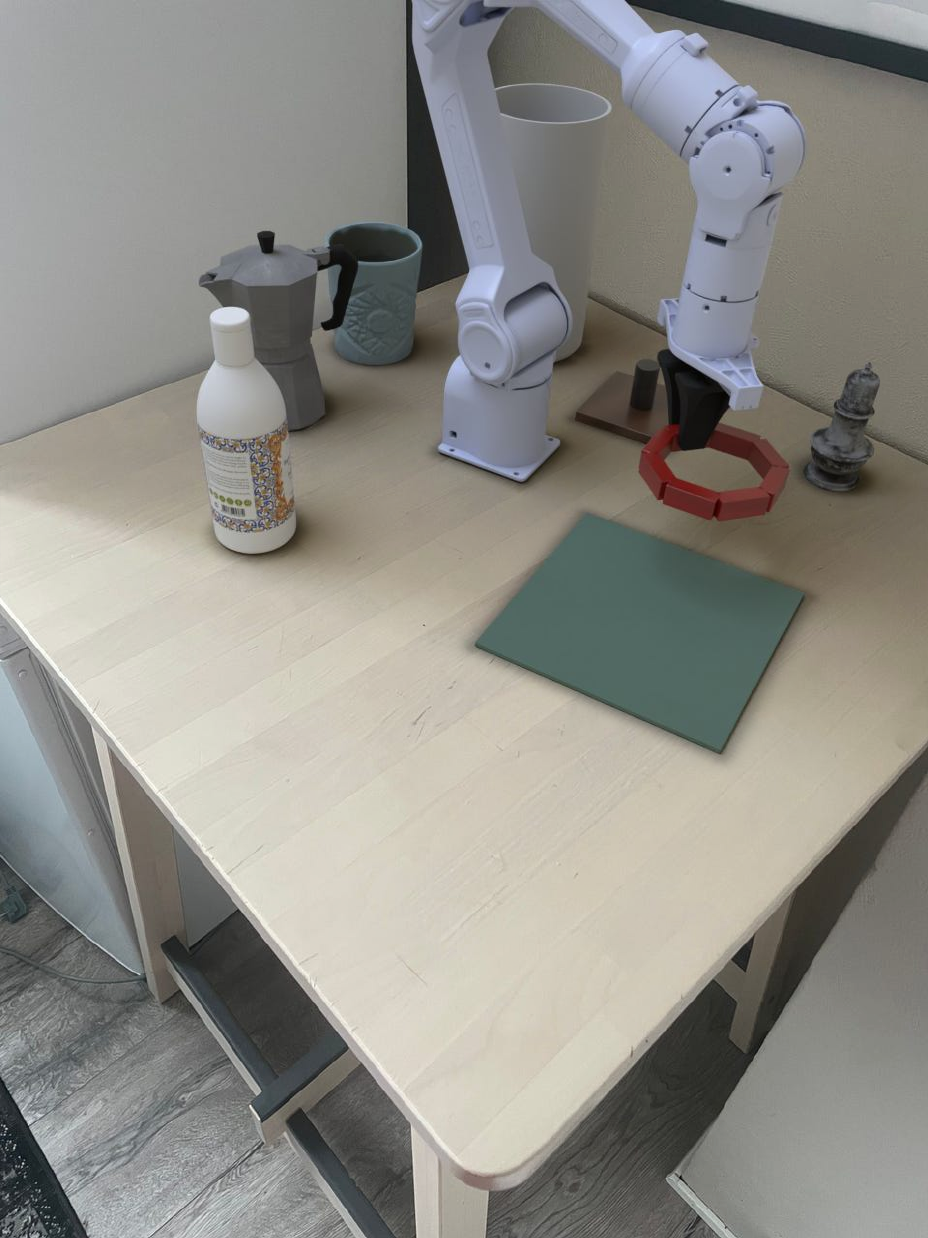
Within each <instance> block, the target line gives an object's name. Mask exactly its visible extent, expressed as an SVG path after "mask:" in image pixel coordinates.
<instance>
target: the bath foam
mask: <svg viewBox="0 0 928 1238" xmlns="http://www.w3.org/2000/svg"><path fill="white" fill-rule="evenodd" d="M209 326H210V332H211V340H212V346H213V353H214V358H215V359H214V361H213V363H212V365H211V366H210V367H209V369H208V372H207V373H206V375H205V376H204V379H203V380H202V383H201V385H200V388H199V390H198V394H197V400H196V421H197V422H196V424H197V425H196V426H197V429H198V430H197V432H198V437H199V443H200V449H201V456H202V463H203V467H204V468H203V469H204V474H205V475H204V476H205V481H206V488H207V492H208V500H209V507H210V512H211V517H212V522H213V523H212V524H213V529H214V534H215V537H216V538H217V540H218V541H219V542H220V543H221V544H222V545H223V546H224V547H225V548H227V549H229V550H232V551H233V552H237V553H242V554H250V555H251V554H252V555H253V554H255V555H256V554H265V553H268V552H272V551H275V550H277V549H279V548H281V547H283V546H284V545H286V544H287V543H288V541H290V540H291V539H292V537H293V536H294V534H295V532H296V528H297V515H296V503H295V492H294V480H293V469H292V459H291V458H292V457H291V446H290V436H289V431H288V423H287V412H286V408H285V403H284V400H283V396H282V394H281V391H280V389H279V387H278V385H277V384H276V382H275V380H274V379H273V378H272V376H271V375H270V374H269V373H268V371H267V370H266V369H265V368H264V367H263V366H262V365H261V364H260V362H259V361H258V360H257V359H256V358H255V357H254V348H253V339H252V332H251V325H250V315H249V313H248V312H247V311H246V310H244V309H242V308H238V307H220V308H217V309H215V310H214V311H212V312H211V314H210V315H209Z"/></svg>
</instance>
